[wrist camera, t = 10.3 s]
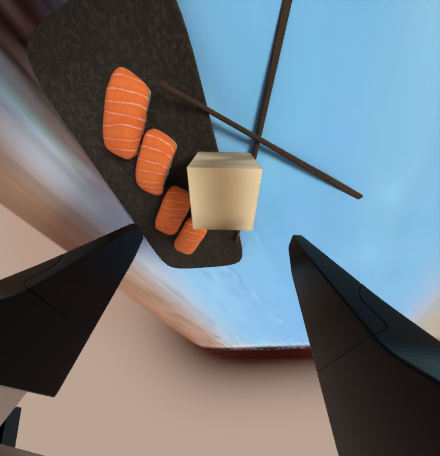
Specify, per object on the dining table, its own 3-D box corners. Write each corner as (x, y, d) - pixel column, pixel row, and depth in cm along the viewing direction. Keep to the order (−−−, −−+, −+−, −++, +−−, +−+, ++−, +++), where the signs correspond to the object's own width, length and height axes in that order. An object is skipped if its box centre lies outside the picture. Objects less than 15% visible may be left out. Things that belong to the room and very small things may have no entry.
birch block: (249, 152, 15) (262, 168, 10) (244, 200, 18) (252, 230, 13) (198, 151, 15) (187, 167, 10) (201, 199, 18) (193, 229, 13)
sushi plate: (33, 49, 14) (-24, 33, 11) (508, -264, 6) (738, -593, 3) (171, 262, 31) (163, 279, 28) (353, 247, 23) (370, 268, 20)
